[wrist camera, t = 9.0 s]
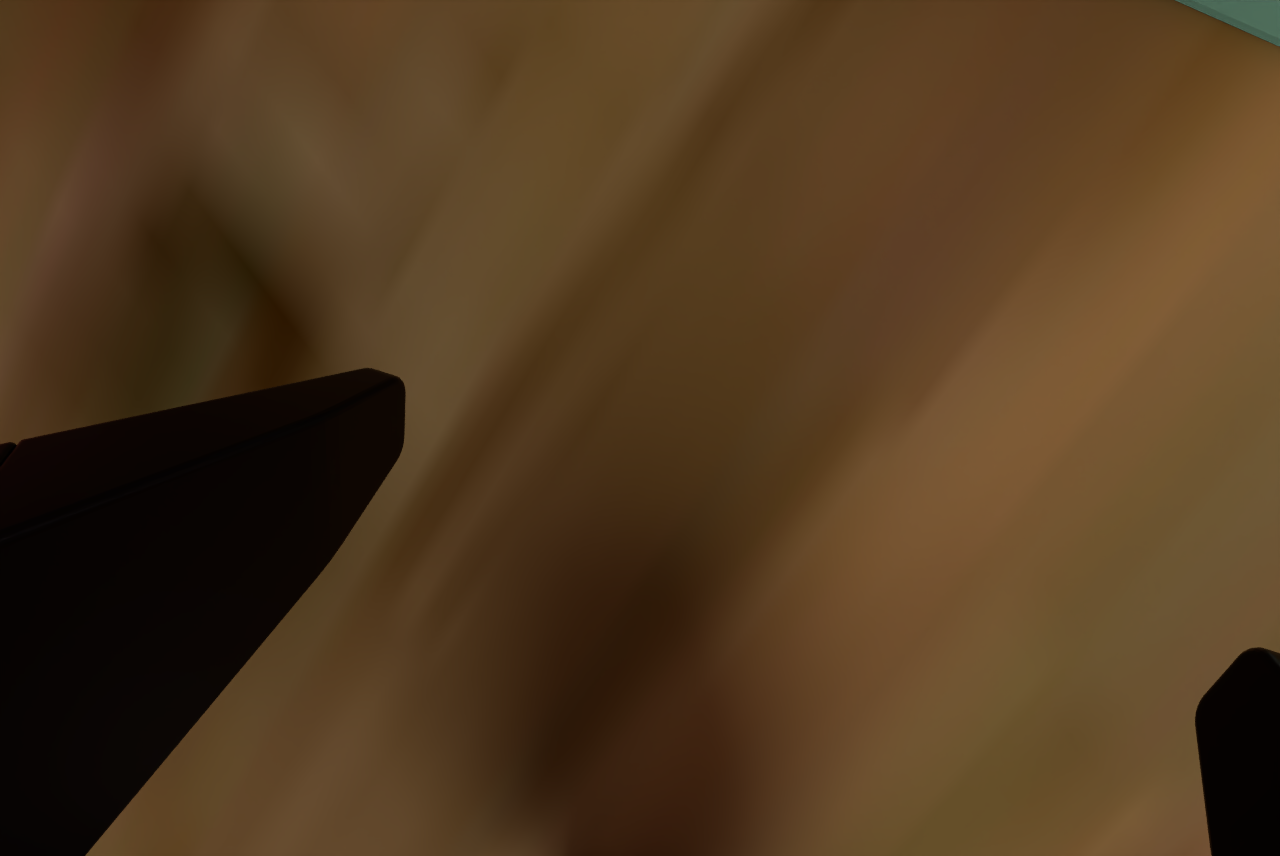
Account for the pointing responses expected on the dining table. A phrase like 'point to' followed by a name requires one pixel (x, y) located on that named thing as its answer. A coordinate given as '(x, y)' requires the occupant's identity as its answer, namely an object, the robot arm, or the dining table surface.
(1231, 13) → the pad
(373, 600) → the dining table surface
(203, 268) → the dining table surface
